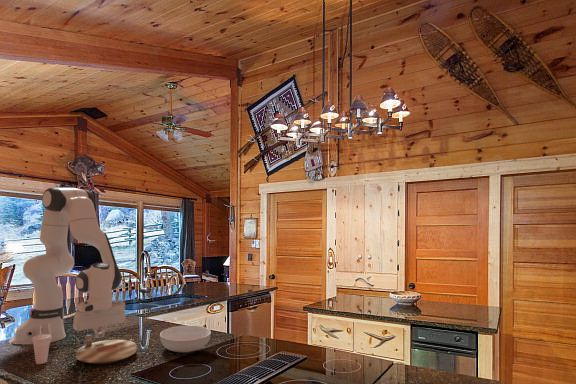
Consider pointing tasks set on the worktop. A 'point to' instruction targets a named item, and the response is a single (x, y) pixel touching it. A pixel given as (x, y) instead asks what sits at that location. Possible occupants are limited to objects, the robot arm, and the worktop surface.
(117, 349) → the round wooden board
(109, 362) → the turntable base
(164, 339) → the serving bowl
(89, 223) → the robot arm
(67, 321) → the worktop surface
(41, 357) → the smoothie
